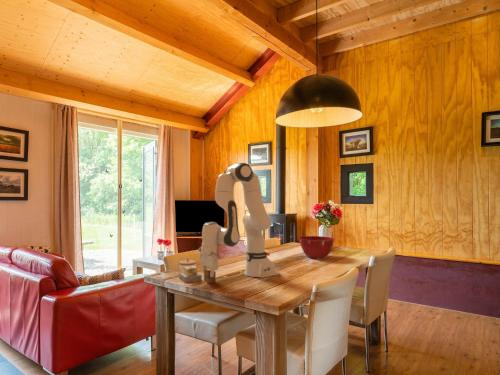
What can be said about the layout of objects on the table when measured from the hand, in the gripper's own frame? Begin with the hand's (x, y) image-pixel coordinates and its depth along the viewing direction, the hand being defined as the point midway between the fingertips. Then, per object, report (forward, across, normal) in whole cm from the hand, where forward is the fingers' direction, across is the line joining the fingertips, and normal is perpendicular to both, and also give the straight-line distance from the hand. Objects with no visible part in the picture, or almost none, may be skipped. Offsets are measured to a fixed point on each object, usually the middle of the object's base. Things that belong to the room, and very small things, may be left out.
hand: (208, 274), depth 184 cm
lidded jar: (+4, +22, +5) cm, 23 cm away
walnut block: (+4, 0, -1) cm, 4 cm away
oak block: (+1, +9, +7) cm, 12 cm away
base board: (+4, +9, +7) cm, 13 cm away
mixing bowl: (+2, +28, -105) cm, 109 cm away
